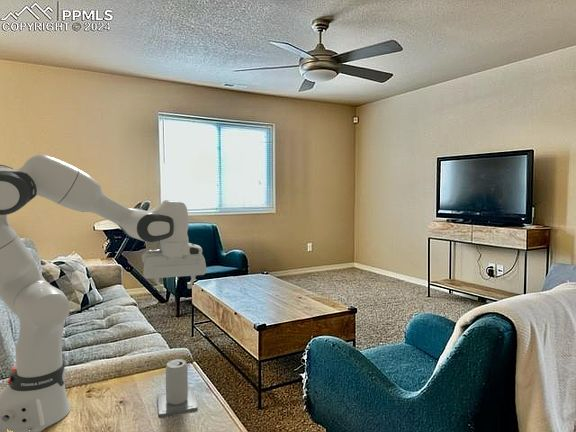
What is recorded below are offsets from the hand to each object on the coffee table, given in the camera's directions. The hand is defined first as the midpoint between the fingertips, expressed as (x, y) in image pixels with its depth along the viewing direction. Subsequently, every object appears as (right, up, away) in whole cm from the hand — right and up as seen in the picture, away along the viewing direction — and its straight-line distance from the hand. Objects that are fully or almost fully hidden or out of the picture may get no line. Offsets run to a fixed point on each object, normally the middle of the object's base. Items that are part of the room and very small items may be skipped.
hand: (175, 289), depth 132 cm
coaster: (+4, -33, -12) cm, 35 cm away
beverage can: (+4, -32, -12) cm, 34 cm away
